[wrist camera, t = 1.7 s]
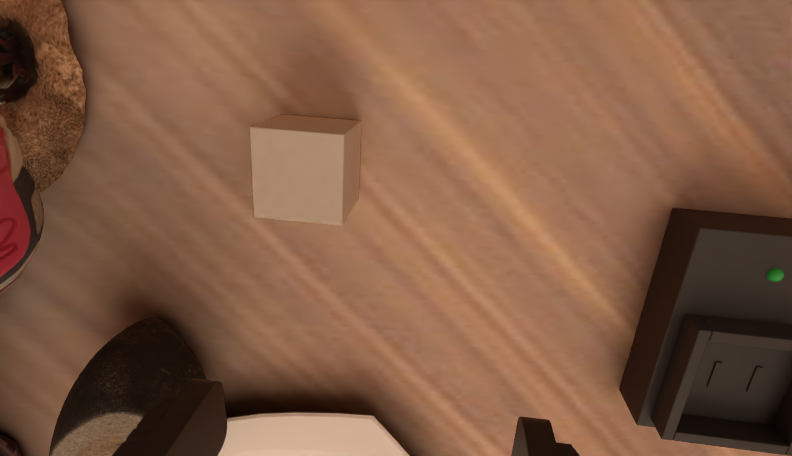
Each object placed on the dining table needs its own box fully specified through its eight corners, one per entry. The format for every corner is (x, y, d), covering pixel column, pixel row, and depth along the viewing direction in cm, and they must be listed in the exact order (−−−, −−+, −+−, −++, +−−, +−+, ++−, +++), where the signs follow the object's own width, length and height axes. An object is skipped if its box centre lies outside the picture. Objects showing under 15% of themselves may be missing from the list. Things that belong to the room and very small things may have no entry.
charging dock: (672, 207, 25) (716, 239, 21) (832, 222, 24) (912, 258, 20) (618, 389, 29) (646, 446, 25) (753, 406, 29) (805, 467, 24)
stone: (83, 511, 28) (-10, 431, 22) (109, 398, 34) (41, 308, 27) (222, 476, 30) (173, 392, 23) (225, 374, 35) (186, 283, 29)
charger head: (281, 114, 25) (249, 126, 21) (361, 120, 25) (344, 134, 21) (283, 194, 27) (253, 220, 23) (358, 201, 27) (342, 229, 23)
